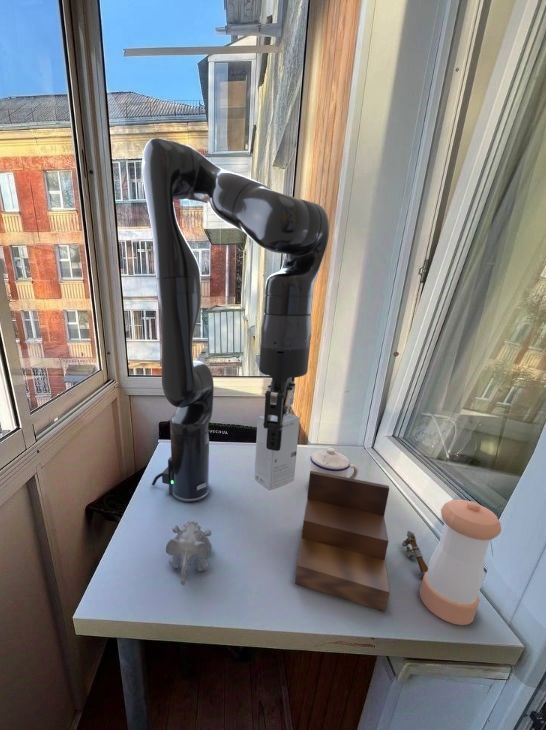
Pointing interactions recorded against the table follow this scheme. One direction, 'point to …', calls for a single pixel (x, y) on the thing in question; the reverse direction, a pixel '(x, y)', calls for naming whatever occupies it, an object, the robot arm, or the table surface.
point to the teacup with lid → (331, 463)
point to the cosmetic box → (276, 454)
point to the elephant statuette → (189, 548)
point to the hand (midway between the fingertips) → (277, 439)
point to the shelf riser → (345, 540)
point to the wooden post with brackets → (415, 552)
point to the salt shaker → (459, 561)
